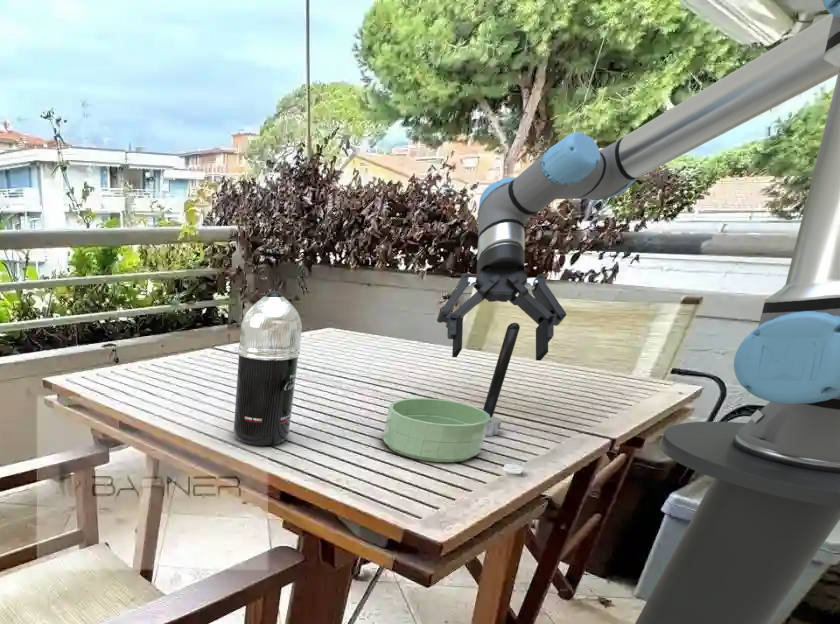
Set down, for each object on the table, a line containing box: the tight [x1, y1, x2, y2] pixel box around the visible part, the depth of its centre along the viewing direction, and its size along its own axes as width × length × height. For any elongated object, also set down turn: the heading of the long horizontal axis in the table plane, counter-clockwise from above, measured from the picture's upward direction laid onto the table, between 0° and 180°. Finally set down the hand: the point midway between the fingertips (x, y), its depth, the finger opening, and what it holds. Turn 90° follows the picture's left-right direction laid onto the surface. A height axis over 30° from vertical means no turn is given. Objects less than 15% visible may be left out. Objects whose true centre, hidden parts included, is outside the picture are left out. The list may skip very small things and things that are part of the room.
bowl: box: [382, 397, 490, 463], centre depth 93 cm, size 15×15×6 cm
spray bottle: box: [233, 290, 303, 447], centre depth 94 cm, size 10×10×25 cm
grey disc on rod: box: [482, 322, 521, 437], centre depth 97 cm, size 5×5×19 cm
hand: (498, 354), depth 98 cm, fingers open, 13 cm apart
